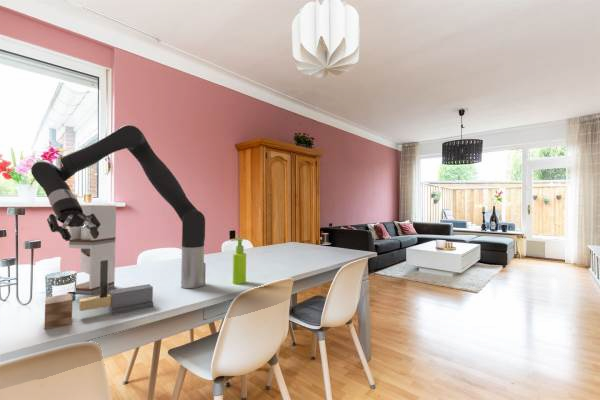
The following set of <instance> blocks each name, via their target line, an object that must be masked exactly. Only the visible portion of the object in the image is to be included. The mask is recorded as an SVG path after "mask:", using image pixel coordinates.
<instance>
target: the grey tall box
mask: <svg viewBox="0 0 600 400" xmlns="http://www.w3.org/2000/svg"><path fill="white" fill-rule="evenodd" d="M80 206H81V208H82V211H83V213H84V214H85V215H86V216H87V215H91V214H94V215H95V216H96V218H97V219H98V221H99V222H100V224H101V225H100V226H99V228H98V229H97V230H98V232H99V235H98V237H97V238H96V239H94V238H93V237H92V235H91V233H90V231H89V230H88V229H84V228H82V227H69V233H70V235H71V238H70V240H69V242H68V247H69V249H80V257H79V258H80V260H79V269H80V270H81V271H82V272H84V274H88V275H89V278H88V279H89V280H88V281H85V282H83V283H79V284H76V293H75V294H80V295H81V294H82V295H93V294H96V293H98V292H99V293H100V261H102V260H108V280H107V290H108V289H110V288H113V287H115V277H116V275H115V272H116V237H117V236H116V233H117V232H116V229H117V228H116V226H117V205H111V204H110V205H107V204H106V205H100V204H99V205H95V204H92V205H91V204H89V205H87V204H86V205H85V204H84V205H83V204H80ZM83 224H84V225H85V224H86V222H85V221H84V223H83ZM88 226H89V227H91V226H90V225H88Z"/></svg>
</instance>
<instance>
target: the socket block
mask: <svg viewBox="0 0 600 400" xmlns="http://www.w3.org/2000/svg"><path fill="white" fill-rule="evenodd" d="M44 301H45V302H44V325H43V326H44V329H43V330H47V329H48V330H49V329H53V328H58V327H62V326H63V327H64V326H67V325H68V326H69V325H72V324H73V296H72V293H66V294H59V295H53V296H46V297H45V300H44Z"/></svg>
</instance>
